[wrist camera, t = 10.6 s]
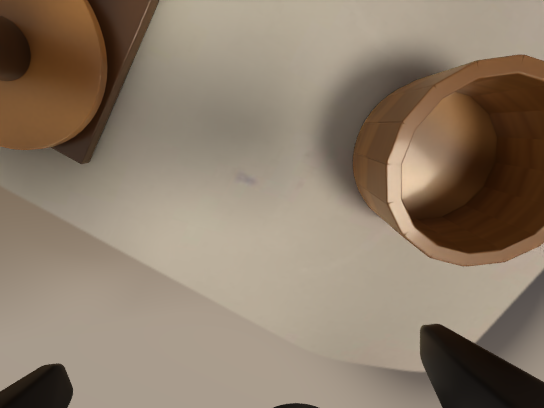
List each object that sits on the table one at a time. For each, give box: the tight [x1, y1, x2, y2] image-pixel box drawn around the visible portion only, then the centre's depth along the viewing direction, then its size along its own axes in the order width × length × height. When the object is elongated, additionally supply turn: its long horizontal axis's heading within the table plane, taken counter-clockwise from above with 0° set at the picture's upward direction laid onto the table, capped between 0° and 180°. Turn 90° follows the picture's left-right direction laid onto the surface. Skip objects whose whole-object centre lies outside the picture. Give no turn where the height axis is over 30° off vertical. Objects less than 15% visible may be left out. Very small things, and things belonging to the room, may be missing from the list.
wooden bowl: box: [353, 55, 544, 266], centre depth 15 cm, size 9×9×6 cm
